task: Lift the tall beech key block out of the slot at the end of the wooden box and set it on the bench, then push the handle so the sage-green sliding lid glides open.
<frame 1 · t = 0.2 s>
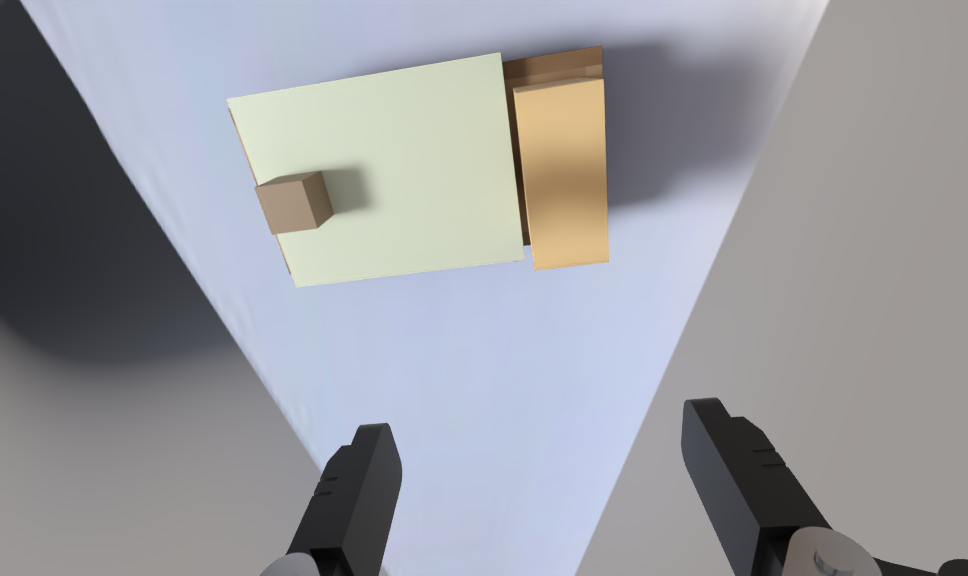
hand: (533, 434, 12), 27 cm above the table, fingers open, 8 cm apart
key: (551, 156, 29), point 6 cm above the table, touching wooden box
lid: (381, 187, 28), point 8 cm above the table, slide at 0.0 cm
wooden box: (438, 159, 35), on the table
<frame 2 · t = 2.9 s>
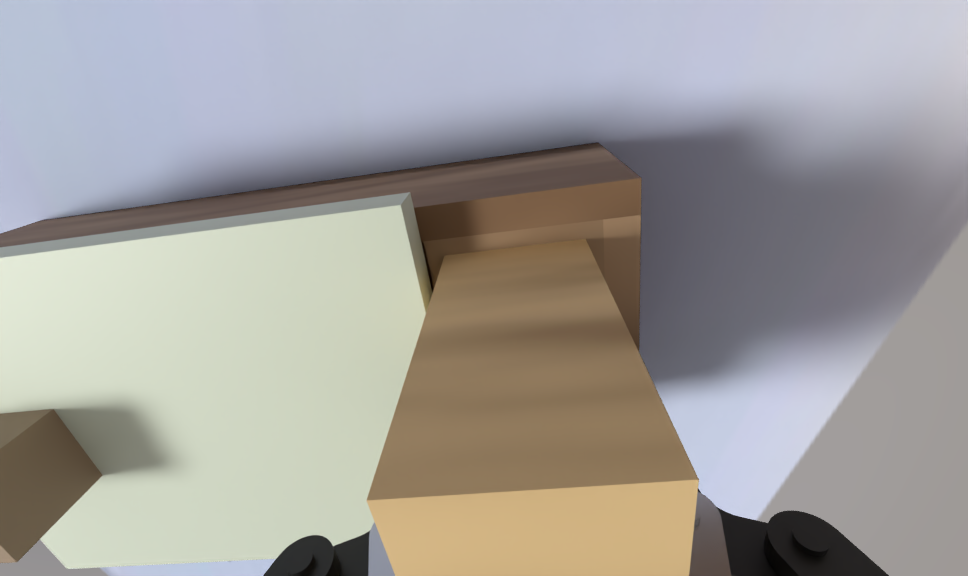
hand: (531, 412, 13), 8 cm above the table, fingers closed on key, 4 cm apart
key: (529, 375, 14), point 6 cm above the table, touching gripper, wooden box
lid: (171, 456, 13), point 8 cm above the table, slide at 0.0 cm
wooden box: (341, 311, 21), on the table
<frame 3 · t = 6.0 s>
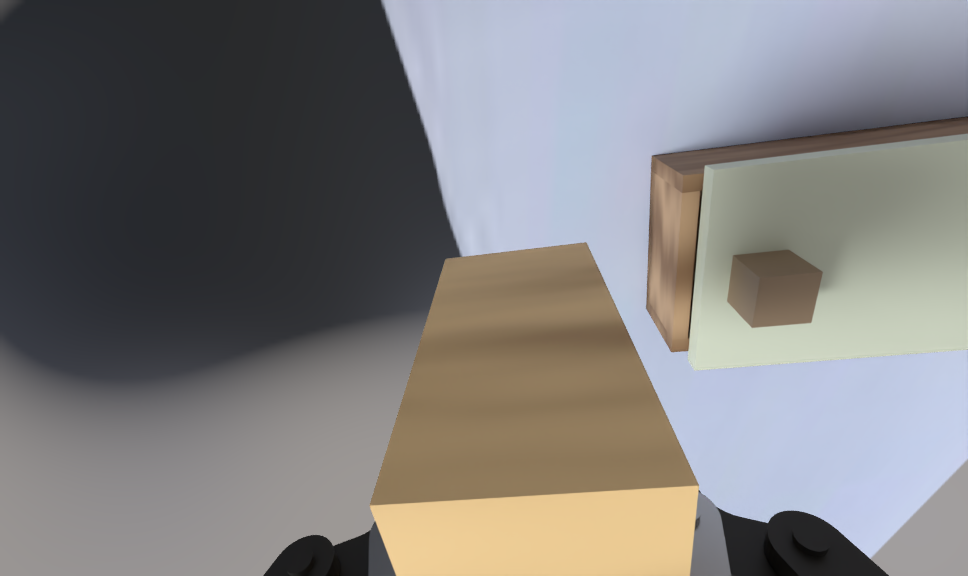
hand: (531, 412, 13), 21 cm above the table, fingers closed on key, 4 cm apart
key: (530, 377, 14), point 20 cm above the table, touching gripper
lid: (870, 273, 24), point 8 cm above the table, slide at 0.0 cm
wooden box: (821, 220, 31), on the table
when the fingers open (3 cm above the table, at t = 9.0 s): key drops 1 cm, on the table.
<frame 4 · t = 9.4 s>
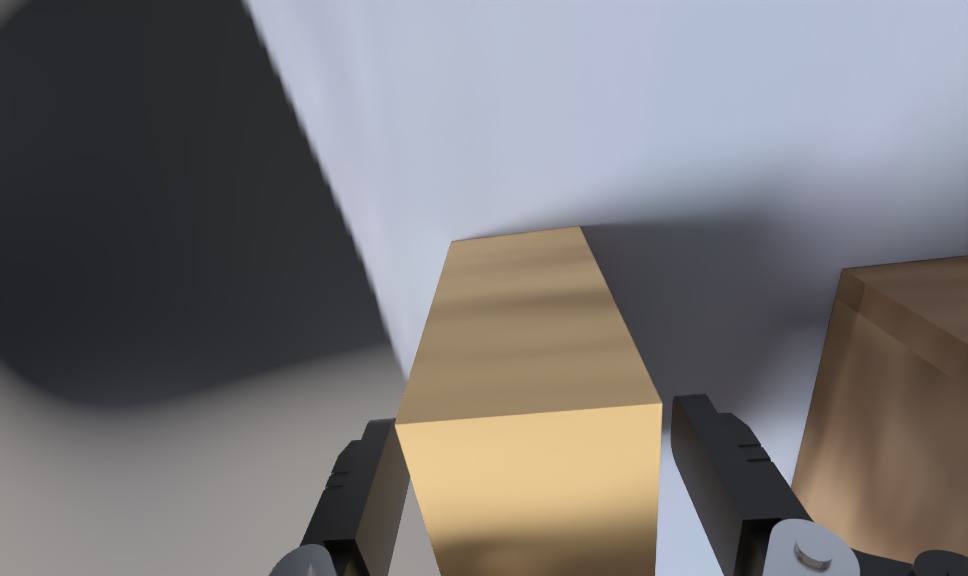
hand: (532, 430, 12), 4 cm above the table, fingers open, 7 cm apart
key: (528, 352, 16), on the table
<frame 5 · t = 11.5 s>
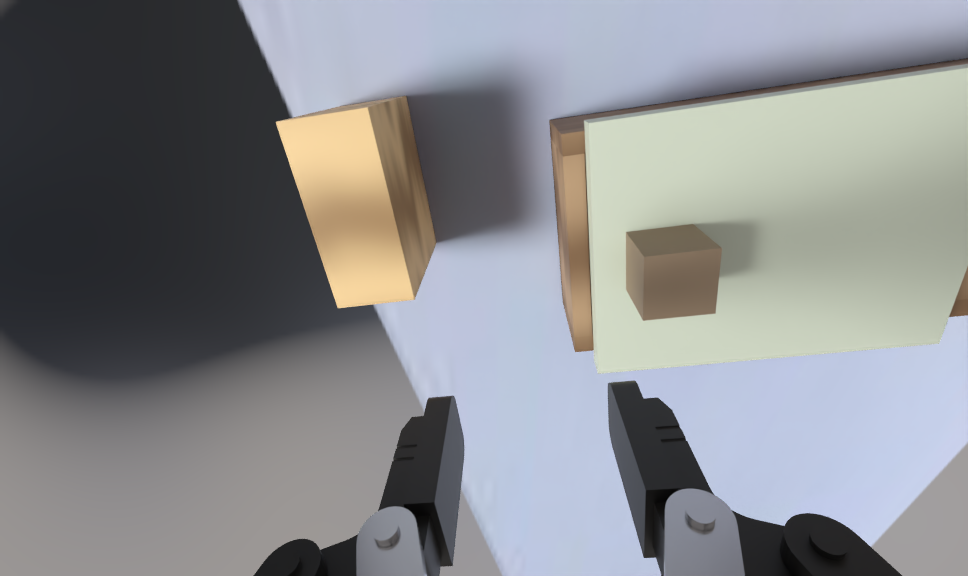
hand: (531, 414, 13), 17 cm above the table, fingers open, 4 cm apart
key: (391, 178, 27), on the table
lid: (792, 251, 20), point 8 cm above the table, slide at 0.0 cm
wooden box: (755, 194, 27), on the table
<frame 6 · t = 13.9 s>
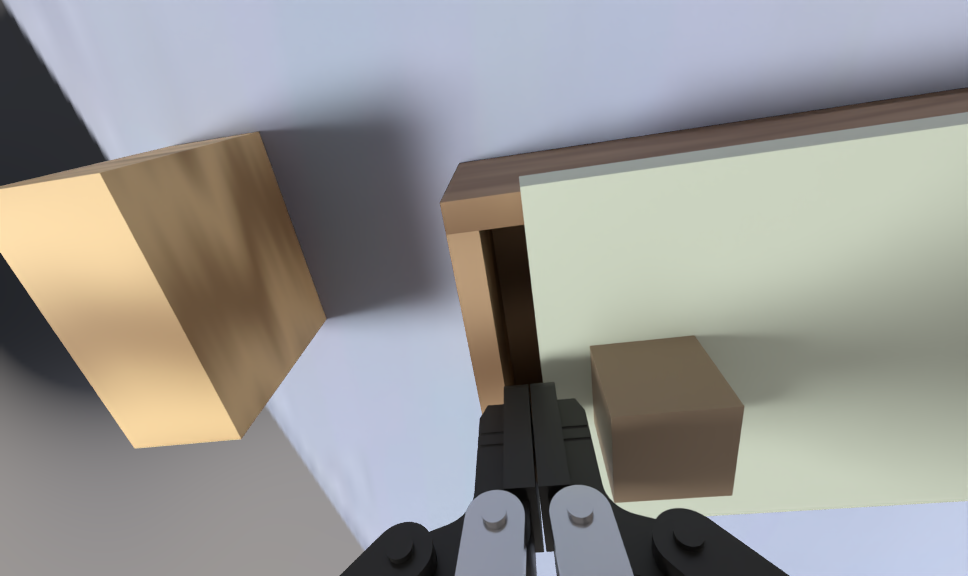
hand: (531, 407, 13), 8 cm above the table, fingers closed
key: (255, 239, 20), on the table
lid: (853, 383, 12), point 8 cm above the table, slide at 1.4 cm, touching gripper
wooden box: (747, 260, 20), on the table
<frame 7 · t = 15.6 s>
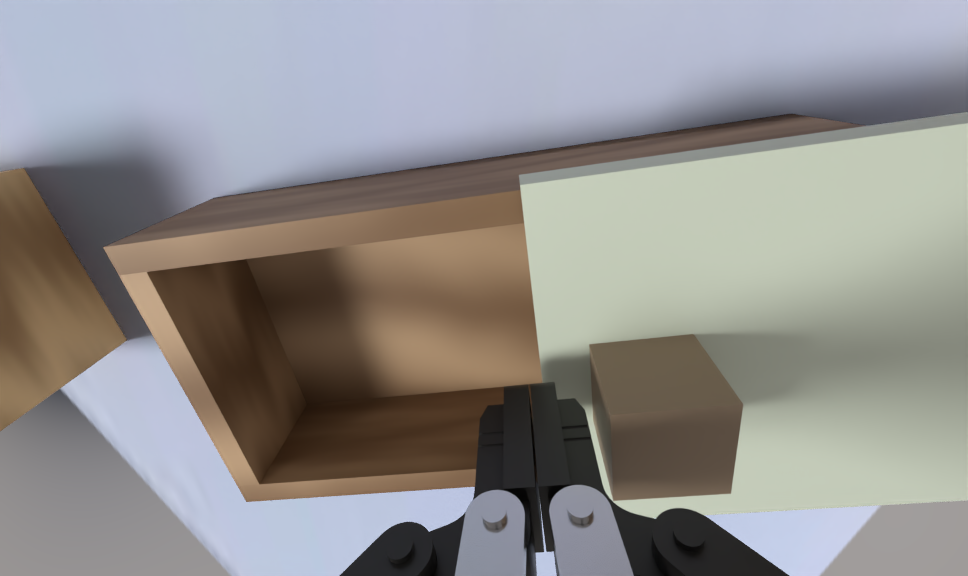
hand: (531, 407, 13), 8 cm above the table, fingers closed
key: (44, 266, 21), on the table
lid: (852, 382, 12), point 8 cm above the table, slide at 12.4 cm, touching gripper
wooden box: (501, 288, 21), on the table
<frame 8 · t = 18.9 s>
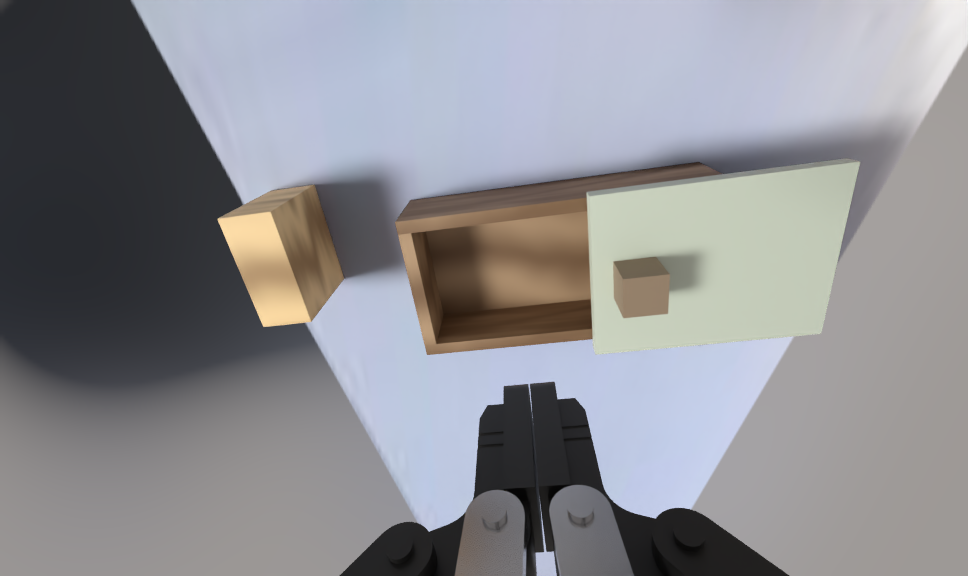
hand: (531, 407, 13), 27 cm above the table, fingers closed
key: (309, 236, 40), on the table
lid: (717, 274, 31), point 8 cm above the table, slide at 13.0 cm
wooden box: (555, 248, 40), on the table
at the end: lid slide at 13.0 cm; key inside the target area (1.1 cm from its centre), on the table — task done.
